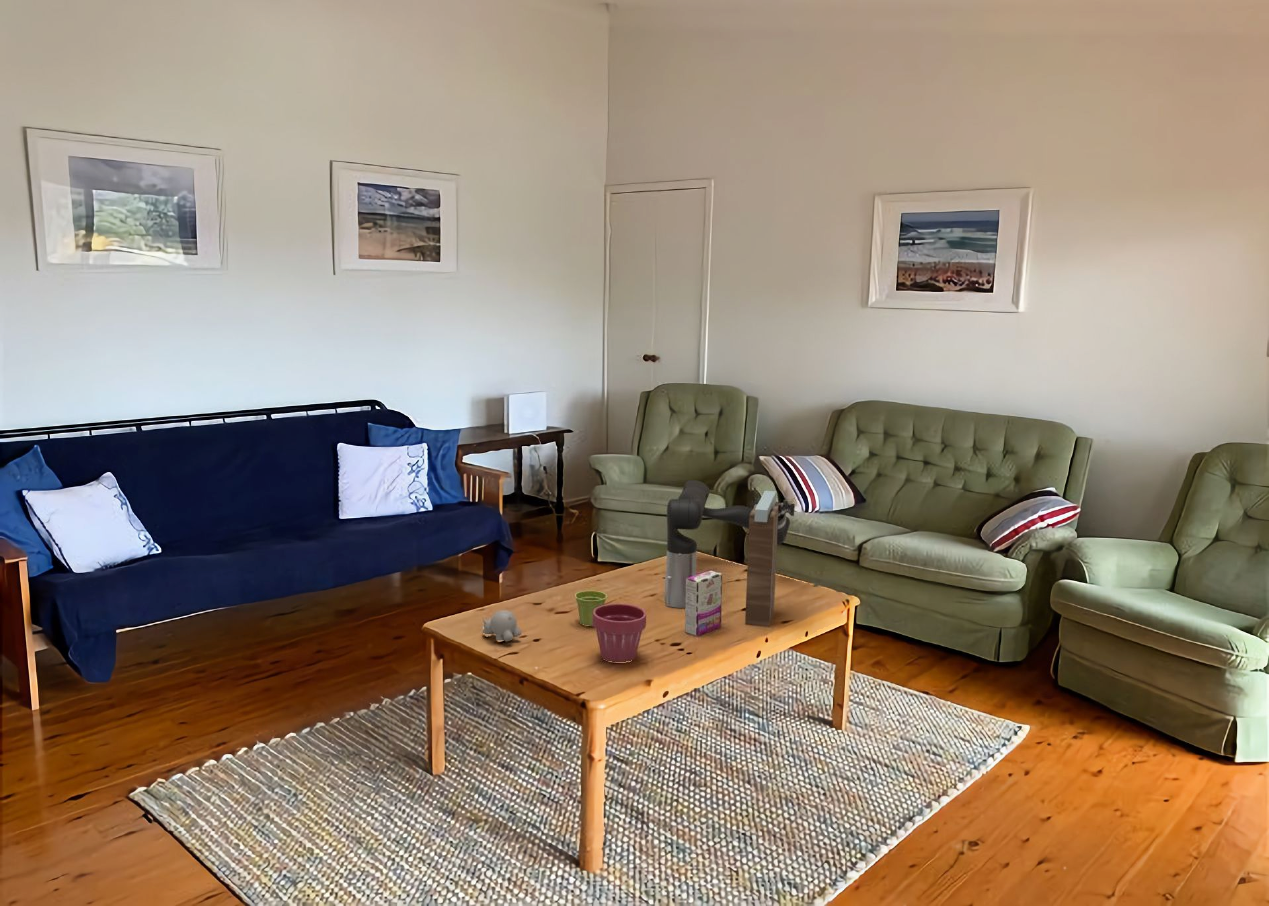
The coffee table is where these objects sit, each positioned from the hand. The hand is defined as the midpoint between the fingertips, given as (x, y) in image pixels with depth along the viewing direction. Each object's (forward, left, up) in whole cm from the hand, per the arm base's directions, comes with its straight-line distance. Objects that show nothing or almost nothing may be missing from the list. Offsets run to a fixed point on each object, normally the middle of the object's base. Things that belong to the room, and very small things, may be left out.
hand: (771, 501), depth 305 cm
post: (-8, -23, -30) cm, 39 cm away
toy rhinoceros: (-85, -36, -31) cm, 97 cm away
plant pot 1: (-59, -25, -31) cm, 71 cm away
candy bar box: (-27, -32, -31) cm, 52 cm away
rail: (-7, -20, +2) cm, 21 cm away
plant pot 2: (-53, -51, -31) cm, 80 cm away
